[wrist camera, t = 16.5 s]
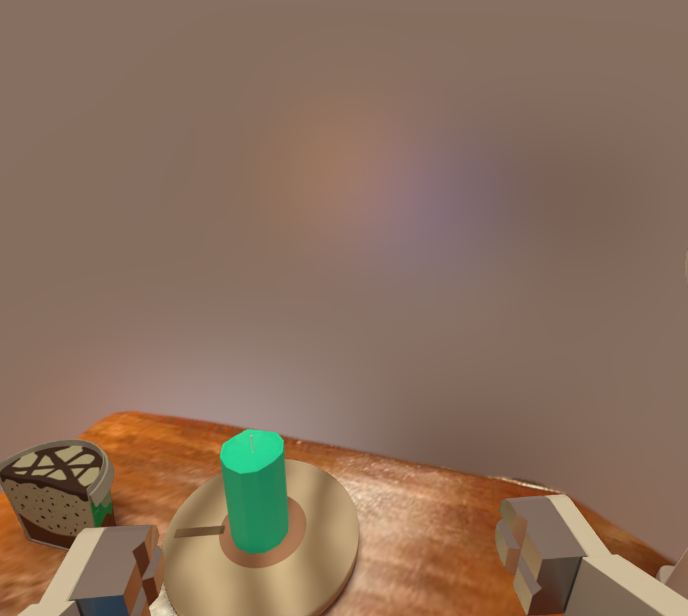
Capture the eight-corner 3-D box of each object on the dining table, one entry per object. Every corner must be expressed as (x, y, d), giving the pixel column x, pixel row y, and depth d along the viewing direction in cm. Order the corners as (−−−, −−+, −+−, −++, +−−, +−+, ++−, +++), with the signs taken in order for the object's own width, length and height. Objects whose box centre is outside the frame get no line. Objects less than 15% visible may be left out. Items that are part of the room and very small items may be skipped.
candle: (301, 524, 44) (296, 432, 39) (256, 566, 40) (245, 468, 35) (264, 495, 48) (255, 407, 43) (219, 530, 43) (204, 437, 39)
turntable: (348, 463, 54) (348, 453, 54) (371, 631, 36) (372, 619, 35) (191, 473, 53) (189, 463, 52) (130, 654, 34) (127, 642, 34)
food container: (153, 515, 48) (137, 446, 44) (114, 564, 43) (91, 490, 39) (65, 494, 51) (43, 427, 47) (18, 537, 45) (-12, 466, 42)
